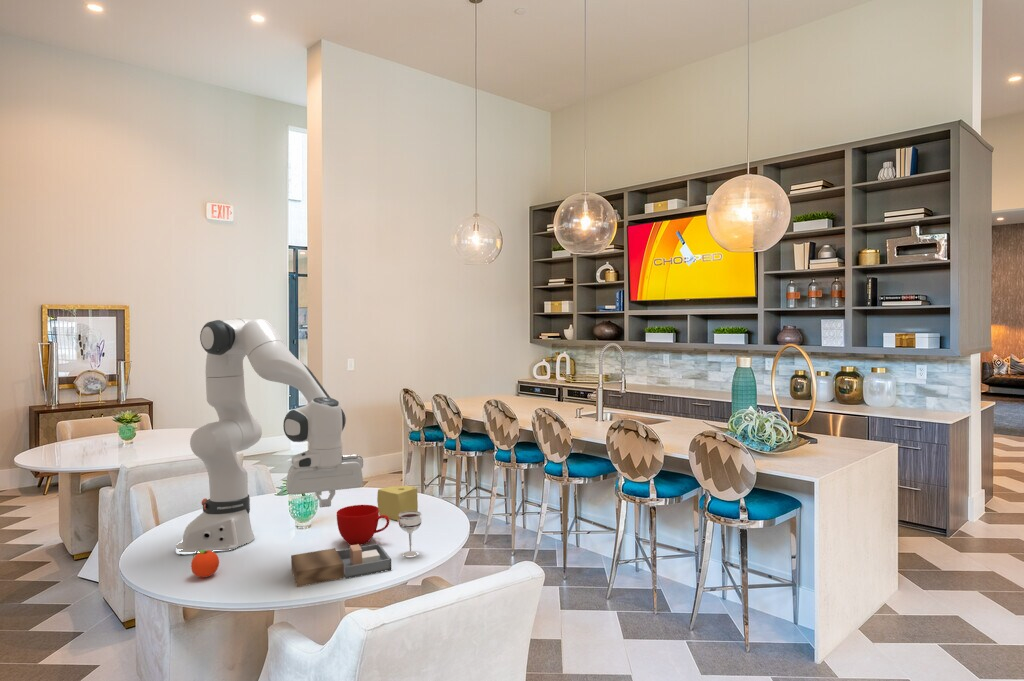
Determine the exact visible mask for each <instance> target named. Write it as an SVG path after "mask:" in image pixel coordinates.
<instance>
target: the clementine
mask: <svg viewBox="0 0 1024 681" xmlns="http://www.w3.org/2000/svg"><path fill="white" fill-rule="evenodd" d="M199 552H200V553H198V554H196V553H197V552H196V553H195V554H192V556H193V557H192V560H191V563H190V569H191V572H192V574H194V576H196V577H199V578H207V577H206V576H208V577H211V576H213V575H214V574H215V573H216V571H217V570H218V569H219V566H220V559H219V558H220V557H219V556H218V554H217V553H216V552H212V551H204V550H203V551H199ZM210 575H211V576H210Z"/></svg>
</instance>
